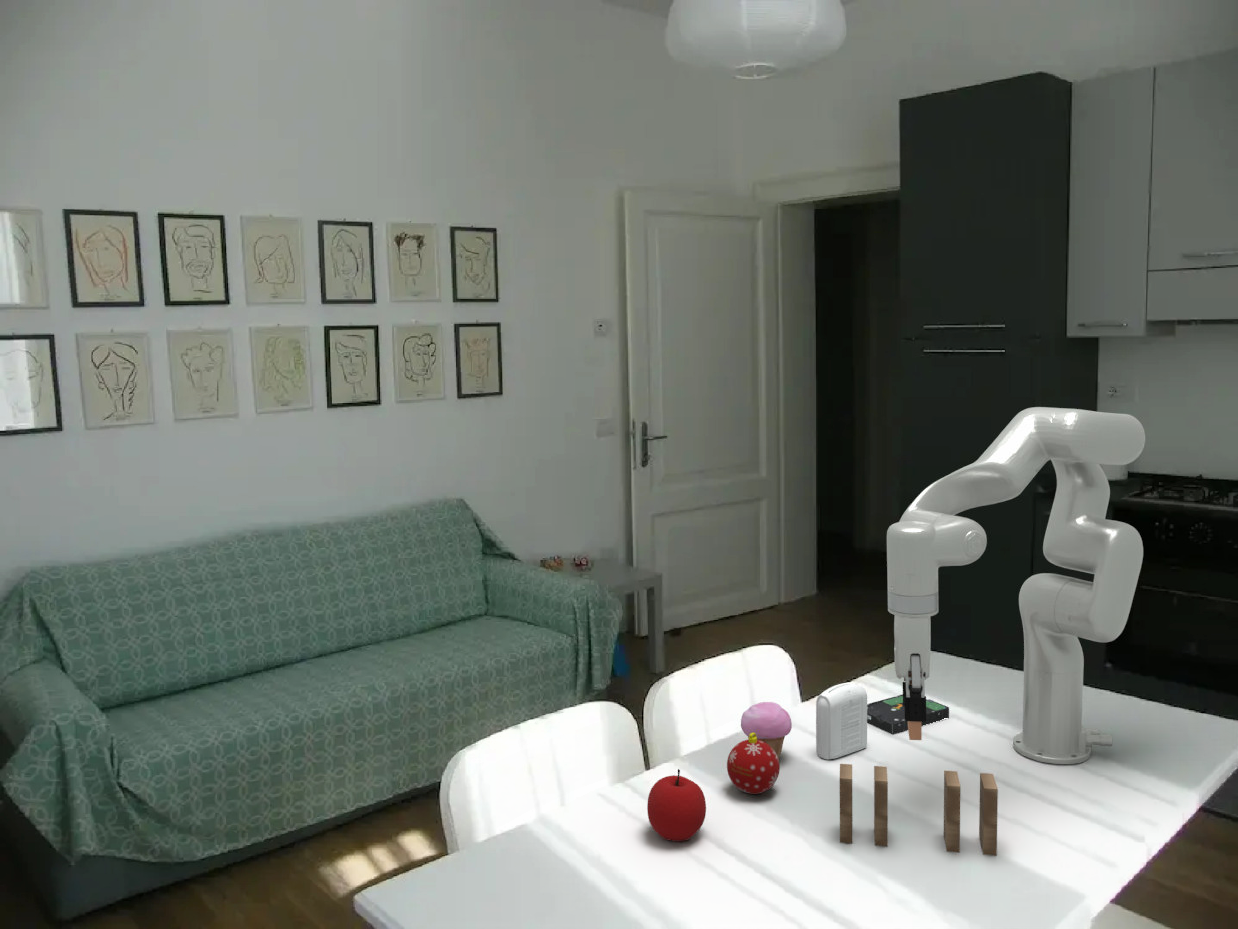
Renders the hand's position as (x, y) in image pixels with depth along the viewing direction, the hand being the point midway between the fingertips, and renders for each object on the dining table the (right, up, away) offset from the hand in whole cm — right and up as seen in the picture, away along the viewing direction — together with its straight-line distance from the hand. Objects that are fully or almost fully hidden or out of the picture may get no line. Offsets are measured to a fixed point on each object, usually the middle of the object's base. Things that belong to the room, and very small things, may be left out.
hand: (914, 712), depth 156 cm
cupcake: (-20, -13, +20) cm, 31 cm away
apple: (-38, -17, -6) cm, 42 cm away
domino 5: (+7, -16, -12) cm, 22 cm away
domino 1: (-12, -16, -8) cm, 22 cm away
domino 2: (-8, -16, -9) cm, 20 cm away
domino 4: (+2, -16, -11) cm, 20 cm away
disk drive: (+8, -11, +36) cm, 38 cm away
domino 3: (0, -3, +1) cm, 4 cm away
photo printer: (-7, -13, +22) cm, 26 cm away
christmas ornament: (-24, -15, +8) cm, 30 cm away
